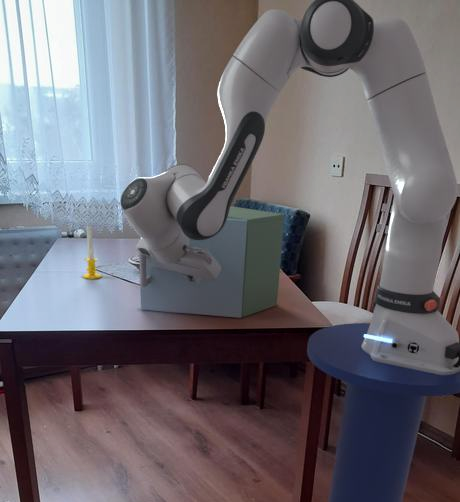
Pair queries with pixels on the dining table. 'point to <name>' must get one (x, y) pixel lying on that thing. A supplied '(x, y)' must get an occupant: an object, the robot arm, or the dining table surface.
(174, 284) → the cupboard door
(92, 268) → the candle
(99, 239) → the dining table surface
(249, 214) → the cupboard
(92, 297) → the dining table surface
